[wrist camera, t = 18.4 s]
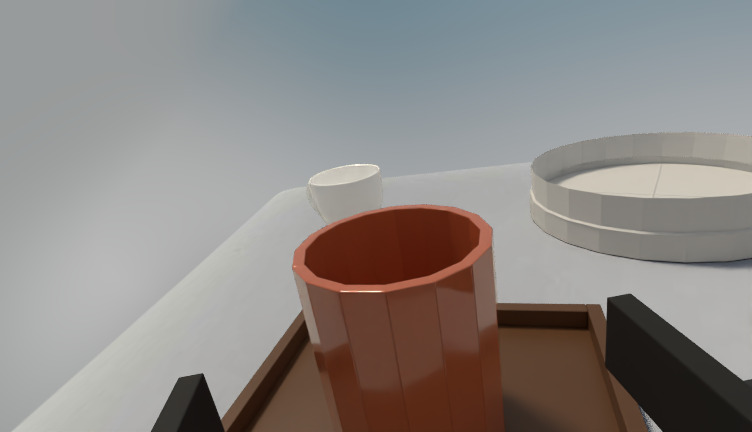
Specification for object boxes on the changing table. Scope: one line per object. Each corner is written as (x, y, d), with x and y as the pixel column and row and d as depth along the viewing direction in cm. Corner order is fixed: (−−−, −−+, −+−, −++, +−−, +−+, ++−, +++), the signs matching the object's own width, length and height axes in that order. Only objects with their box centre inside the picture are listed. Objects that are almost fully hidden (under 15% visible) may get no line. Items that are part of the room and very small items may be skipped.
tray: (132, 589, 16) (116, 560, 16) (313, 319, 32) (308, 300, 31) (752, 766, 10) (762, 731, 10) (599, 327, 26) (600, 303, 25)
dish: (848, 285, 26) (868, 209, 24) (499, 242, 39) (496, 192, 37) (792, 177, 42) (802, 127, 40) (559, 173, 55) (559, 135, 53)
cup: (361, 249, 42) (350, 186, 40) (293, 238, 48) (279, 183, 46) (401, 220, 48) (393, 164, 46) (336, 214, 54) (326, 163, 52)
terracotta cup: (312, 487, 18) (254, 291, 15) (365, 360, 26) (334, 209, 22) (506, 518, 16) (490, 292, 12) (504, 368, 23) (493, 199, 20)
